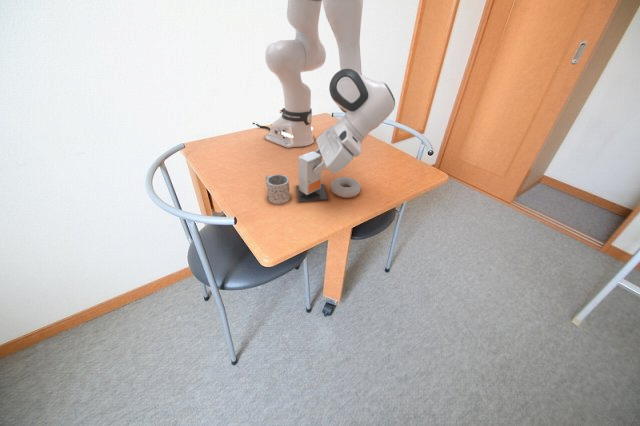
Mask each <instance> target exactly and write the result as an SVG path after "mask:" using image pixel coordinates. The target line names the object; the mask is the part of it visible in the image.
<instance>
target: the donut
mask: <svg viewBox="0 0 640 426" xmlns="http://www.w3.org/2000/svg"><path fill="white" fill-rule="evenodd" d="M330 190H331V192H332V193H333V194H334V195H336V196H338V197H340V198H345V199H347V198H353V197H356V196H358V195H359V194H360V192H361V190H362V186H361V183H360V182H359V181H358V180H357V179H355V178H353V177H348V176H341V177H340V176H339V177H337V178H335V179H334V180H333V181H331V183H330Z"/></svg>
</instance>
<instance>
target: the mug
mask: <svg viewBox="0 0 640 426" xmlns="http://www.w3.org/2000/svg"><path fill="white" fill-rule="evenodd" d="M265 185H266V187H267V195H268V197H267V198H268V201H269V202H270V203H272V204H274V205H282V204H285V203H288V202H289V200H290V199H291V197H290V179H289V177H288V176H286V175H284V174H273V175H266V176H265Z"/></svg>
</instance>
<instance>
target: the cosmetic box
mask: <svg viewBox="0 0 640 426" xmlns="http://www.w3.org/2000/svg"><path fill="white" fill-rule="evenodd" d="M297 160H298V163H297V164H298V186H299V190H300V191H302V192H303V193H305V194H306V195H308V194H310V193H312V192H314V191H316V190H318V189H320V188H321V184H322V171H321V172H320V173H318V174H316V173H315V172H314V171H313V168H314V167H315V166H316V165H317V166H318V165H320V164H321V162H322V161H323V158H322V155H320V154H318V153H316V152H315V151H314V150H312V151H309V152H306V153H304V154H302V155H300V156H298V158H297Z"/></svg>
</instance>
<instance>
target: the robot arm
mask: <svg viewBox="0 0 640 426" xmlns="http://www.w3.org/2000/svg"><path fill="white" fill-rule="evenodd" d="M322 5H323V9H324V13H325V17H326V20H327V22H328V24H329V27H330V29H331V31H332V33H333V36H334V39H335V41H336V44H337V48H338V56H339V58H338V59H339V71H337V72H336V73H334V75H333V76H332V77H331V79H330V82H329V95H330V97H331V99H332V101H333V102H334V103H335V104H336V105H337V107H338V108H339V110H341V112H343V113H344V115H343V116H342V117H341V118H340V119H339V120H338V121H337V122H336V123H335V124H334V125H331V126H329V127H327V128H326V129H325V130H324V131H323V132H322V133H320V134H319V136H318V137H317V138H316V140H315V139H314V134H313V130H314V128H313V127H312V121H313V110H312V90H311V88H310V87H309V86H308V85H307V84H306V83H304V82H303V80H302V75H301V73H306V72H312V71H315V70H318V69H320V68H322V67H323V66H324V64H325V62H326V57H327V52H326V47H325V45H324V44H323V43H322V41H321V39H320V34H319V22H320V15H321V8H322ZM363 5H364V0H287V8H286V19H287V21H288V23H289V24H290V26H291V27H292V28H293V29H294V30H295V38H294V39H283V40H278V41H275V42H271V43H269V44H268V45H267V47H266V50H265V52H264V53H265V55H264V58H265V63H266V66H267V68H268V69H269V71H270V72H271V73H273V74H274V75H275V76H276V78H278V80H279V82H280V84H281V87H282V91H283V100H284V101H283V103H284V107H282V109H280V110H279V114H281V116H280V117H278V118H277V119H276V120H275V121H273V122H272V123H271V124H270V127H269V126H266V125H260V124H258V123H257V124H255V123H254V122H252V125H255V126H257V127H258V128H262V129H267V130H268V131H269V133H267V134H266V135H265V140H267V141H268V142H272V143H273V144H277V145H279V146H282V147H284V148H287V149H291V148H298V147H306V146H310V145H312V144H313V143H314V142H315V141H316V145H317V148H316V149H315V151H314V152H316V153H318V154H320V155H322V162H321V164H320V165H318V166H317V165H316V166H315V167H314V168H313V171H314V172H315V173H316V174H318V173H320V172H321V173H322V172H323V171H325V170H328V171H329V172H330V173H331V174H334V175H335V174H338V173H340V172H341V171H342V170H344V169H345V168H346V167H347V166H348V165H349V164H350V163H351V162H352V161H353V160H354V159H355V158H358V157H359V156H360V155H361V154H362V153H363V152H362V144H363V141H364V140H365V139H366V138H367V137H368V135H370V133H371V132H372V131H374V130H376V129H377V128H379V127H380V125H382V124H383V123H384V122H385V120H387V118H389V116H390V115H391V114H392V113H393V112H394V110H395V107H396V100H395V97H394V94H393V92H392V91H391V89H390V87H389V86H388V84H387V83H385V82H384V81H377V80H373V79H370V78H368V77H366V76H364V75H363V74H362V61H361V46H360V45H361V29H362V28H361V26H362V18H363V17H362V16H363ZM354 157H355V158H354Z"/></svg>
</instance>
